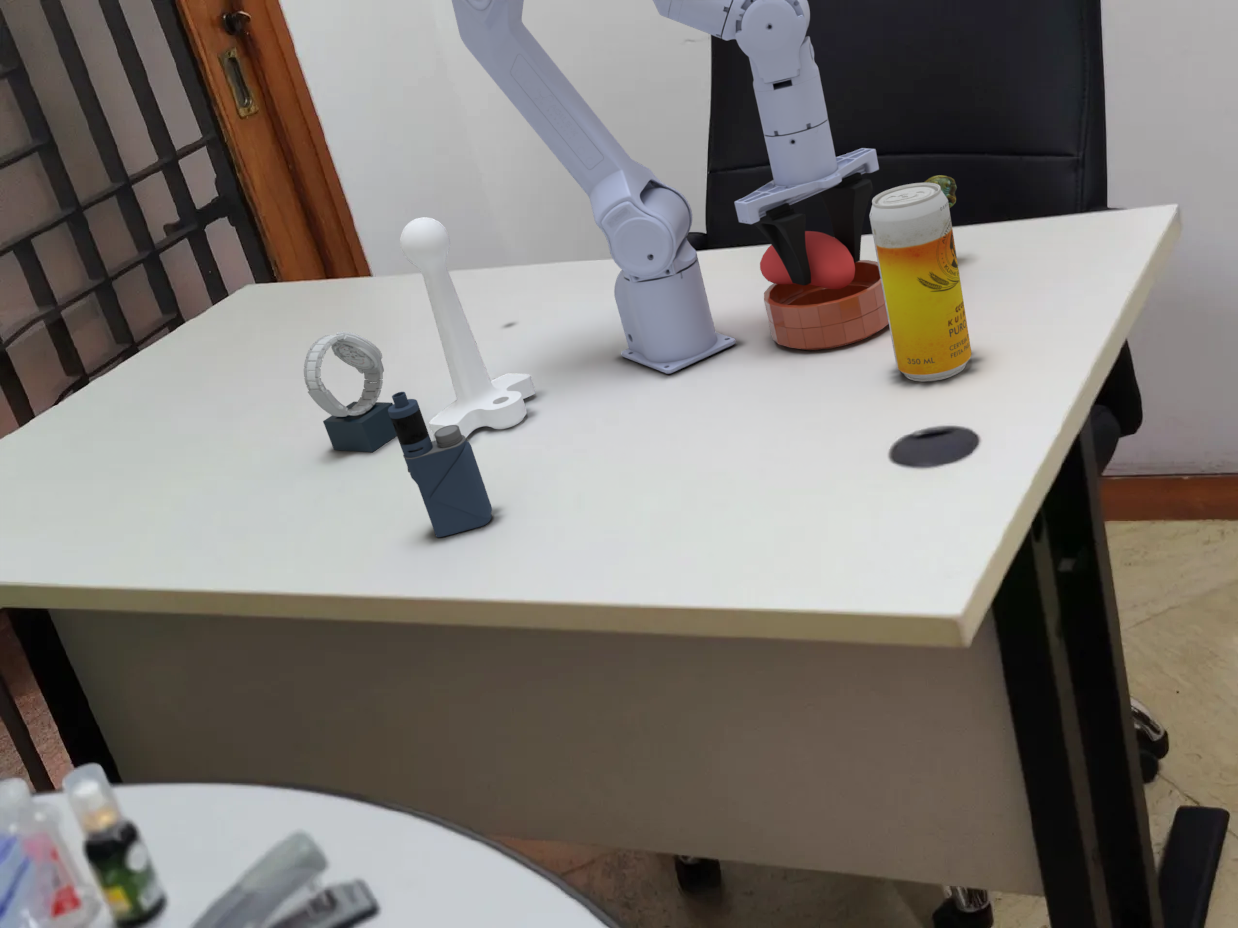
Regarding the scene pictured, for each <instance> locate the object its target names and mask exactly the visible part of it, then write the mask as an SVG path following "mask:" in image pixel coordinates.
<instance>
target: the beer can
mask: <svg viewBox="0 0 1238 928" xmlns="http://www.w3.org/2000/svg"><path fill="white" fill-rule="evenodd" d="M871 203H872V205H871V208H870V212H869V215H868V216H869V221H870V227H871V228H870V229H871V233H872V238H873V244H874V249H875V255H876V260H877V261H876V262H878V267H879V272H880V278H881V283H882V289H883V294H884V300H885V305H886V311H887V316H888V322H889V324H888V327H889V332H890V338H891V343H892V349H893V354H894V360H895V365H896V369H897V370H898V371H899V372H901V373H902V374H903V375H904V376H905V378H907V379H908V380H911V381H914V382H937V381H941V380H945V379H948V378H951V377H953V376H956V375H958V374H959V373H962V371H963V370H965V368H966V367H967V363H968V362H969V361H970V359H971V357H972V353H973V352H972V348H971V341H970V334H969V328H968V321H967V314H966V309H965V302H964V296H963V295H964V294H963V289H962V282H961V277H960V270H959V264H958V256H957V249H956V244H955V243H956V242H955V238H954V237H955V236H954V229H953V224H952V217H951V211H950V208H949V204H948V199H947V198H946V196H945V195H944V193H943V192H942V191H941V187H940V186H939V185H938V184H935V183H924V182H915V183H909V184H908V183H907V184H903V185H899V186H895V187H892V188H890V189H886V190H884V191H882V192H880V193H878V194H876V195H875V196H874V197H873V198H872V199H871Z"/></svg>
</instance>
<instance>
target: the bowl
mask: <svg viewBox="0 0 1238 928" xmlns="http://www.w3.org/2000/svg"><path fill="white" fill-rule="evenodd" d="M854 265H855V275H854V279H853V280H852V281H851V283H850V284H849V285H847V286H846V287H844V288H841V289H829V288H824V287H819V286H814V285H810V284H808V285H805V286H804V285H799V284H775V283H771V285H769V286H768V287H767V289H766V290H765V291H764V292H763V303H764V306H765V307H764V308H765V311H766V316H767V320H768V325H769V329H770V333H771V338H772V340H773V341H774V342H775V343H777V344H778V345H780V346H782V347H783V346H784V347H787V348H790V349H796V350H803V351H806V350H807V351H818V350H827V349H834V348H839V347H843V346H848V345H851V344H854V343H858V342H860V341H863V340H865V339H867V338H870V337H872V336H873V335H876V334H877V333H878V332H880V331H881V330H883V329H884V328H885V327H886V326H889V322H888V316H887V311H886V305H885V300H884V294H883V289H882V283H881V278H880V272H879V267H878V261H876V260H870V259H860V261H858V262H856V263H854Z"/></svg>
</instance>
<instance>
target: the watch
mask: <svg viewBox="0 0 1238 928" xmlns="http://www.w3.org/2000/svg"><path fill="white" fill-rule="evenodd" d="M330 348H331V350H332V353H333V355H334V356H335V357H337V358H338V359H339V360H341V361H342V362H343V363H345V364H347V365H348V366H349V367H353V368H355V370H357V371H358V373H360V374H362V375H363V380H364V381H363V388H362V392H361V395H360V397H359V399H358V400H357V401H352V402H350V403H349V404H347V405H344V404H343V403H342V402H340V400H338V399H337V397H335V396H334V394H333V392H331V390H330V389H327V388H326V385H325V383H324V382H323V380H322V378H321V376H322V375H321V373H322V371H321V368H322V364H323V359H324V358H325V355H326V354H327V352H328V350H329V349H330ZM382 359H383V354H382V351H381V350H380V348H379V347H378V346H377V345H376V344H374V343H373V342H372V341H370V340H369V339H368V338H366V337H364V336H361V335H360V334H358V333H354V332H351V331H343V330H342V331H338V332H336V333H335V334H329V335H328V334H327V335H323V336H322V337H319V338H318V339H316V340H315V341H314V343H312V345H310V347H309V349H308V351H307V353H306V356H305V359H304V364H303V377H304V378H303V379H304V384H305V385H306V388H307V390H308V391H307V393H308V395H309V397H310V398H311V400H313V401H314V402H315V403H316V405H317V406H318V407H320V408H321V409H322V410H323V411H325V412H326V413H327V414H329V415H330V416H328V417H327V418H326V419H324V420H322V422H323V426H324V428H325V431H326V433H327V435H328V438H329V441H330V443H331V446H332V448H333V450H334V451H348V452H349V451H350V452H363V453H374V452H375V451H377V450H378V449H380V448H381V447H382V446H384V445H386V444H387V443H388V442H390V441H391V440H393V439H394V438H396V437H397V435H396V432H395V429H394V426H393V424H392V422H393V421H391V418H390V415H389V413H388V408H389V407H390V406H392V405H393V404H394V402H387V401H385V402H383V401H382V402H380V401H378V400H379V397H380V395H381V393H382V388H383V383H384V382H383V381H384V380H383V379H384V372H385V368H384V364H383V362H382Z"/></svg>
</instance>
